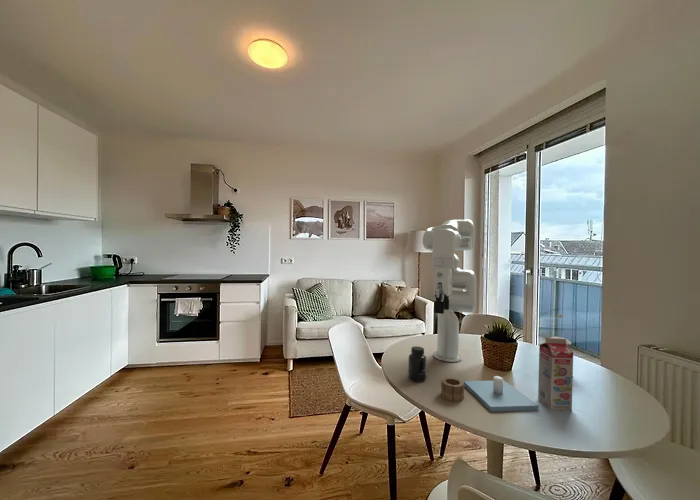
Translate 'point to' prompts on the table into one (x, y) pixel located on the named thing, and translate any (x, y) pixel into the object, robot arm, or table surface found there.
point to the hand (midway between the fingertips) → (441, 311)
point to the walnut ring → (452, 389)
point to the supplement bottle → (417, 365)
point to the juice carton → (555, 374)
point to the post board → (499, 395)
